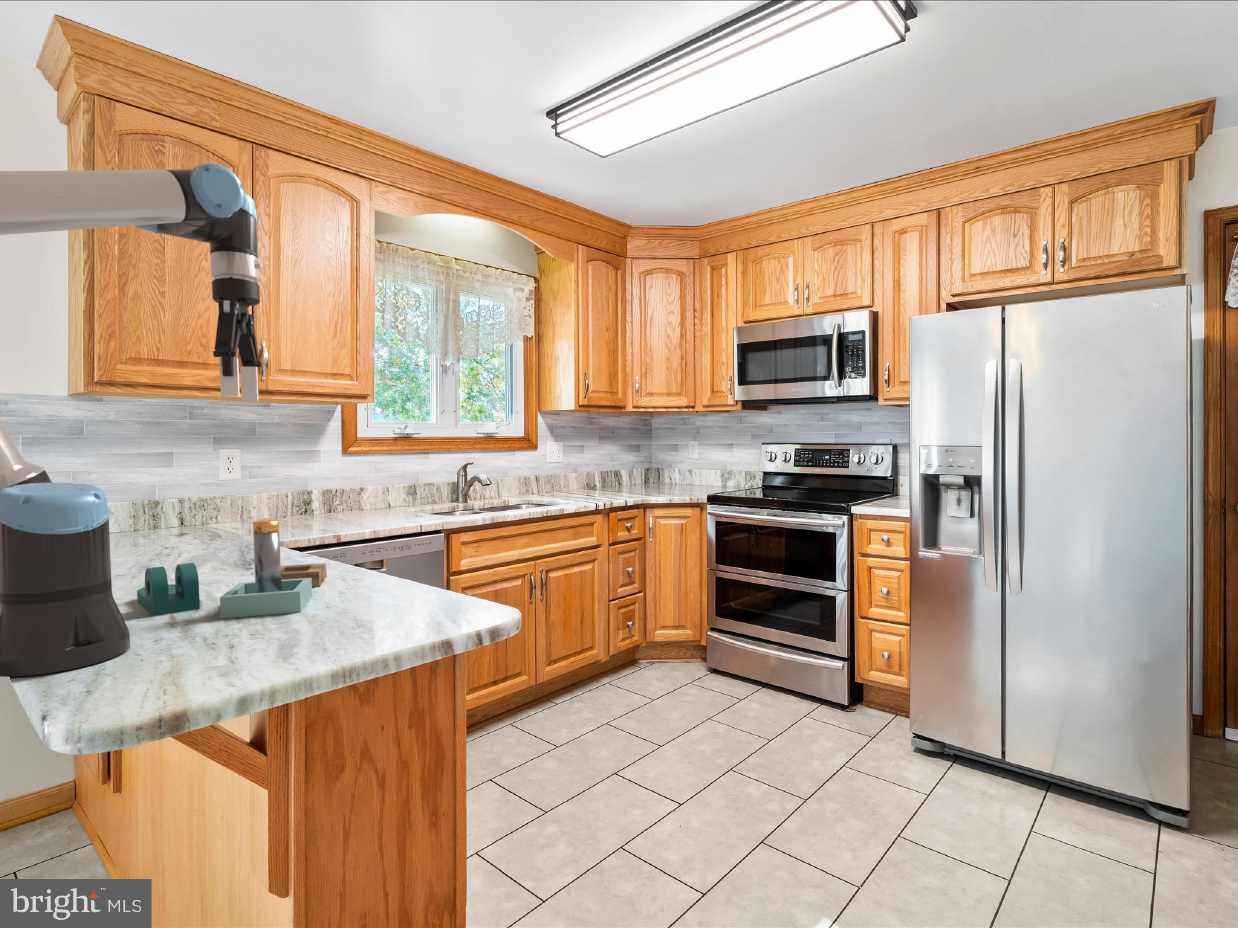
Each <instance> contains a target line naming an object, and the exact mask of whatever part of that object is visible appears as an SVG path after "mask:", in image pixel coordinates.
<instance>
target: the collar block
mask: <svg viewBox="0 0 1238 928" xmlns="http://www.w3.org/2000/svg"><path fill="white" fill-rule="evenodd" d="M327 573H328V572H327V563H326V562H322V563H321V562H320V563H319V562H318V563H304V564H294V565H293V564H292V565H281V580H287V579H301V578H312V588H319V587H321V585H322V584H323V582H324V581H325V580H326V579H327V575H328V574H327ZM325 578H326V579H325Z"/></svg>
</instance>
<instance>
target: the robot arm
mask: <svg viewBox="0 0 1238 928" xmlns="http://www.w3.org/2000/svg"><path fill="white" fill-rule="evenodd" d="M258 225H259V223H258V217H257V208H256V203H255V200H254V199H253V198H252V197H251V195H249V194H247V193H245V190H244V187H243V185H242V182H241V181H240V179H239V178H238V176H237V175H236V174H235V173H234V172H233V171H232V170H231V169H229V168H228V167H226V166H224V165H222V164H219V163H214V162H213V163H212V162H209V163H205V164H199V165H196V166H194V167H193V168H192V169H128V170H127V169H122V170H121V169H120V170H119V169H118V170H117V169H114V170H113V169H109V170H105V169H104V170H103V169H102V170H101V169H98V170H96V169H95V170H94V169H93V170H85V169H84V170H81V169H80V170H0V236H2V235H3V236H4V235H7V236H8V235H21V234H31V233H32V234H33V233H45V232H46V233H49V232H50V233H51V232H61V231H73V230H78V231H79V230H89V229H103V228H105V229H106V228H117V227H131V226H134V227H135V228H138V229H142V230H143V231H144V230H145V231H149V232H152V233H154V234H156V235H157V234H161V235H167V236H172V237H177V238H181V239H182V238H183V239H187V240H193V241H197V242H202V243H208V244H209V249H210V250H209V252H210V272H211V273H210V275H211V277H212V278H213V280H212V281H211V292H212V293H211V296H212V297H211V298H212V300H213V301H214V302H215V303H217V304H218V315H217V316H218V317H217V325H216V333H215V335H216V336H215V342H214V343H215V344H214V350H213V351H212V355H213V357H214V358H219V359H218V360H219V380H220V397H240V394H241V401H242V402H259V381H258V379H259V378H258V368H262V367H263V363H262V362H261V361H260V357H259V356H260V355H259V349H258V343H257V335H256V331H255V316H254V314H252V313H249V307H250V306H251V307H252V306H254V307H256V306H257V305H259V304H260V302H261V291H260V284H259V283H258V281H259V280H260V278H259V275H260V274H259V273H260V272H259V270H261V269H262V268H263V266H262V263H259V260H258V259H259V253H258V251H259V247H258V245H259V244H258ZM237 352H238V353H237ZM237 354H239V357H240V362H241V366H240V369H239V358H238V357H237ZM239 372H240V373H239ZM240 390H241V393H240ZM110 515H111V510H110V507H109V505H108V498H107V494H106V492H105V491H104V490H103V489H102V488H100V487H98V486H96V485H93V484H87V483H73V482H53V481H52V479H51V478H50V476H49V475H48V472H47V471H46V469H45V468H44V466H40V465H37V464H35V463H31V462H28V461H26V460H25V459H24V458H23V456H22V454H21V452H20V451H19V449H18V447H17V446H16V444H15V442H14V441H13V439H12V437H11V435H10V434H9V432H8V430H7V428H6V427H5V426H4V424H3V422H2V421H1V419H0V677H3V678H4V677H5V678H6V677H7V678H13V677H16V678H17V677H27V676H37V675H39V676H40V675H45V674H52V673H57V672H58V673H59V672H63V671H64V672H65V671H69V670H73V669H77V668H78V669H79V668H81V667H87V666H90V665H94V664H97V663H101V662H104V661H107V660H110V659H113V658H116V657H118V656H121V655H122V654H124V653H126V652H127V651H128V650H130V649H131V635H130V629H129V627H128V625H127V624H126V621H125V619H124V617H123V614H122V612H121V611H120V608H119V606H118V604H117V602H116V600H115V598H114V596H113V595H114V594H113V587H112V585H113V584H112V564H111V563H112V562H111V541H110V539H111V538H110V519H109V518H110Z"/></svg>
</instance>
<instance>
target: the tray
mask: <svg viewBox="0 0 1238 928" xmlns="http://www.w3.org/2000/svg"><path fill="white" fill-rule="evenodd" d="M281 590H282V591H279V592H266V593H256V587H255V581H248V582H247V581H246V582H238V583H237V584H235V586H233V587H232V588H230V589H229V590H228V591H226V592H225V593H224V594H222V595H221V596H220V597H219V604H220V605H219V606H220V607H219V608H220V619H232V618H243V617H245V618H246V617H256V616H268V615H281V614H292V613H301V612H302V611H303V610H304V608H305V607H306V606H307V604H308V603H309V602H310V600H311V599H312V598H313V587H312V578H301V579H287V580H281Z"/></svg>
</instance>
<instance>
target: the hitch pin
mask: <svg viewBox="0 0 1238 928" xmlns="http://www.w3.org/2000/svg"><path fill="white" fill-rule="evenodd" d="M252 532H253V536H252V537H253V557H254V558H253V559H254V562H253V563H254V578H255V579H254V580H255V581H254V582H255V587H256V593H266V592H279V591H282V590H281V566H282V565H281V543H280V521H279V519H263V520H256V521H253V522H252Z"/></svg>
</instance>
